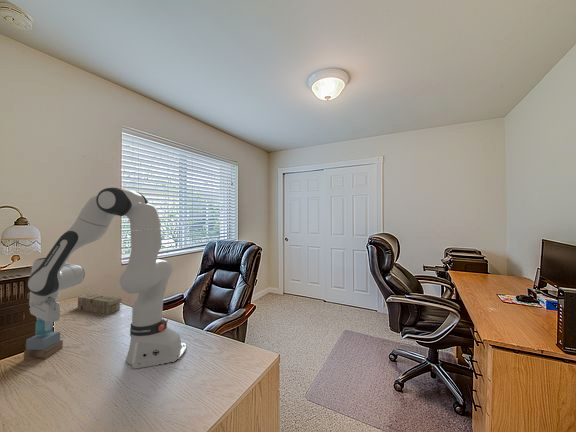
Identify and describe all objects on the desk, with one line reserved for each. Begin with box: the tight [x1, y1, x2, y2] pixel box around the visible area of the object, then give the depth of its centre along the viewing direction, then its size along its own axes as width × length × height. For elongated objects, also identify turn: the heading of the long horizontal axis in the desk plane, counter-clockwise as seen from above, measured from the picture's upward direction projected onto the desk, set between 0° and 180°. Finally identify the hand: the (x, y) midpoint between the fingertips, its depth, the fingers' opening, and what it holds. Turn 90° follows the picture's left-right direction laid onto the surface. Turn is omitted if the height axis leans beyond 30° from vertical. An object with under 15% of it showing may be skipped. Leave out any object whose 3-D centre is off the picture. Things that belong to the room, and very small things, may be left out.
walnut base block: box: [23, 339, 64, 361], centre depth 98 cm, size 8×8×4 cm
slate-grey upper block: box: [25, 331, 61, 350], centre depth 98 cm, size 7×7×4 cm
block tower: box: [77, 292, 123, 315], centre depth 148 cm, size 8×8×29 cm
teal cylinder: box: [34, 320, 54, 336], centre depth 99 cm, size 5×5×5 cm
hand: (44, 328), depth 99 cm, fingers closed on teal cylinder, 5 cm apart
